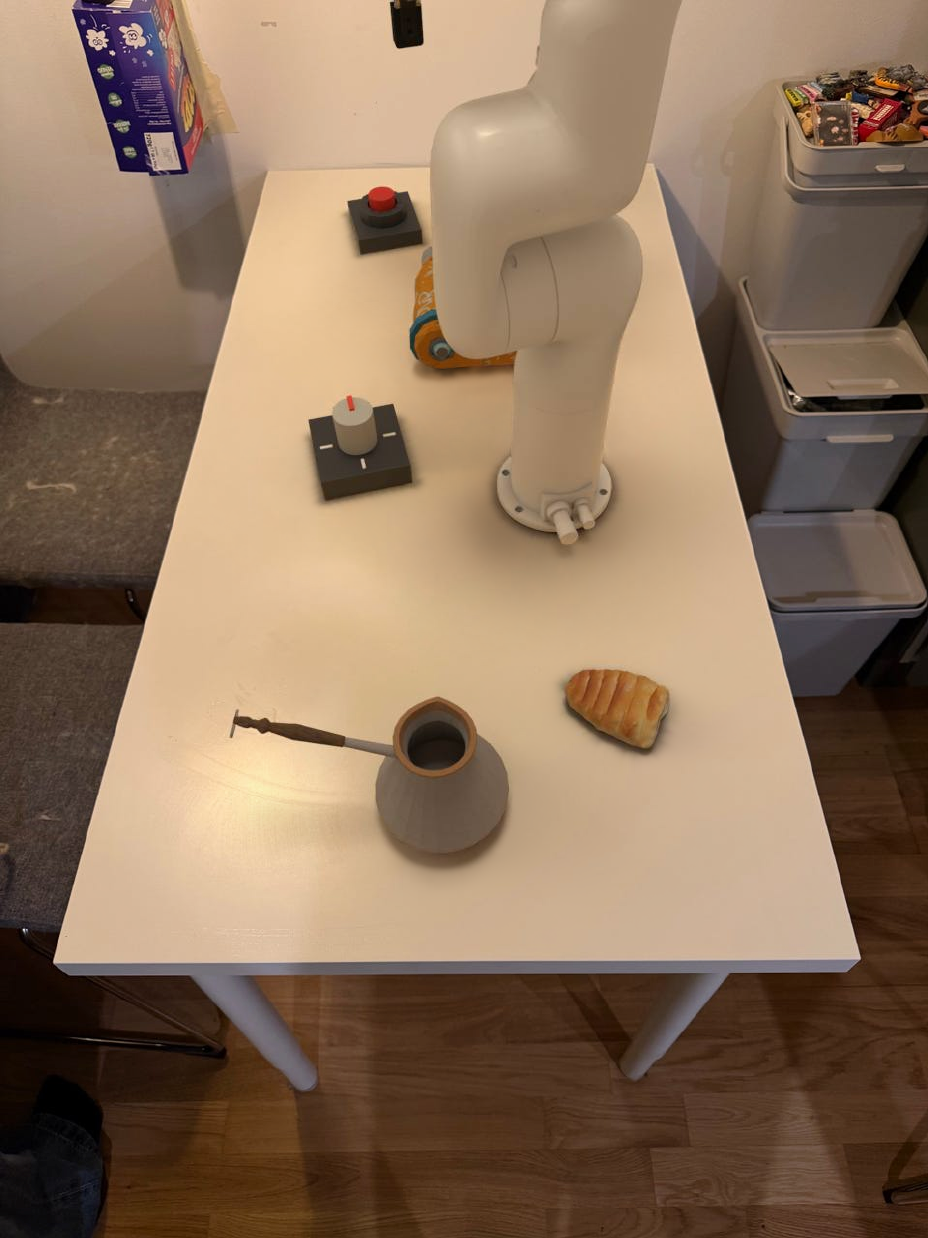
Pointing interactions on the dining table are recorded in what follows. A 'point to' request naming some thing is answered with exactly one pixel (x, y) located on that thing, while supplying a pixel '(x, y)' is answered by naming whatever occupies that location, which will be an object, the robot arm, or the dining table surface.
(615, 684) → the pastry
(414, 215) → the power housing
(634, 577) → the dining table surface
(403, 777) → the coffee pot
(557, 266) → the robot arm
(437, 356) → the device
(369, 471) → the timer panel
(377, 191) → the power button
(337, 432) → the timer knob
